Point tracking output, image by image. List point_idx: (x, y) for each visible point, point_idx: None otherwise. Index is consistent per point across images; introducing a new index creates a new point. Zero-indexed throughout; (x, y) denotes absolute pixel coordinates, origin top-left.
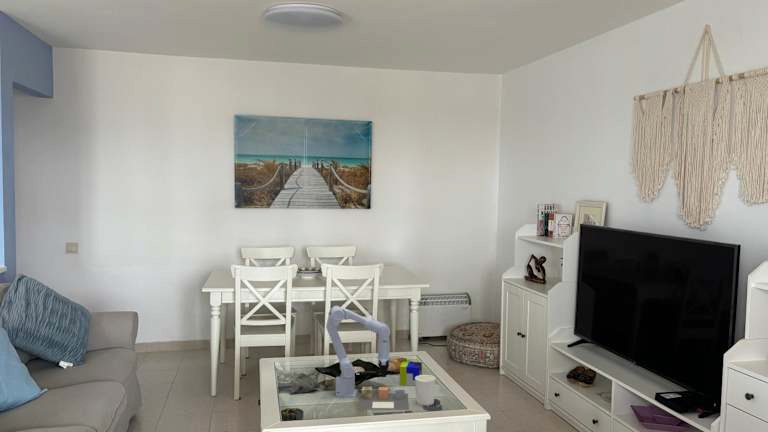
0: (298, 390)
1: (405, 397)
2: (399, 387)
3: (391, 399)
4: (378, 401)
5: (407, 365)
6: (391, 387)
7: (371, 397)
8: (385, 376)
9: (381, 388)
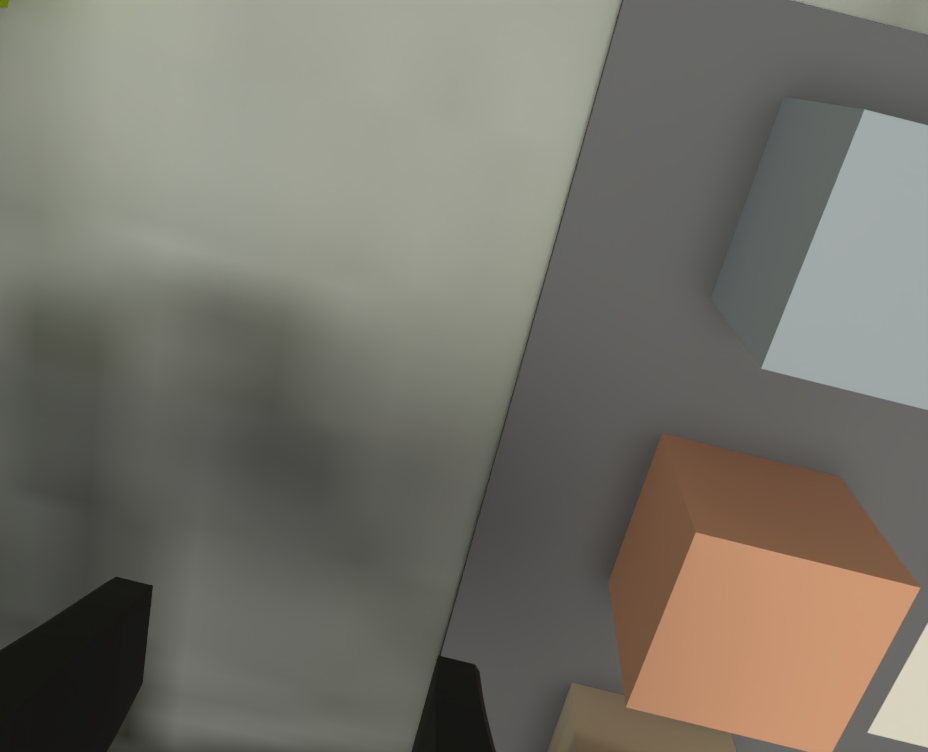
0: None
1: (883, 97)
2: (849, 269)
3: (884, 421)
4: (889, 652)
5: None
6: (127, 234)
7: (731, 742)
8: (478, 689)
9: (753, 687)
